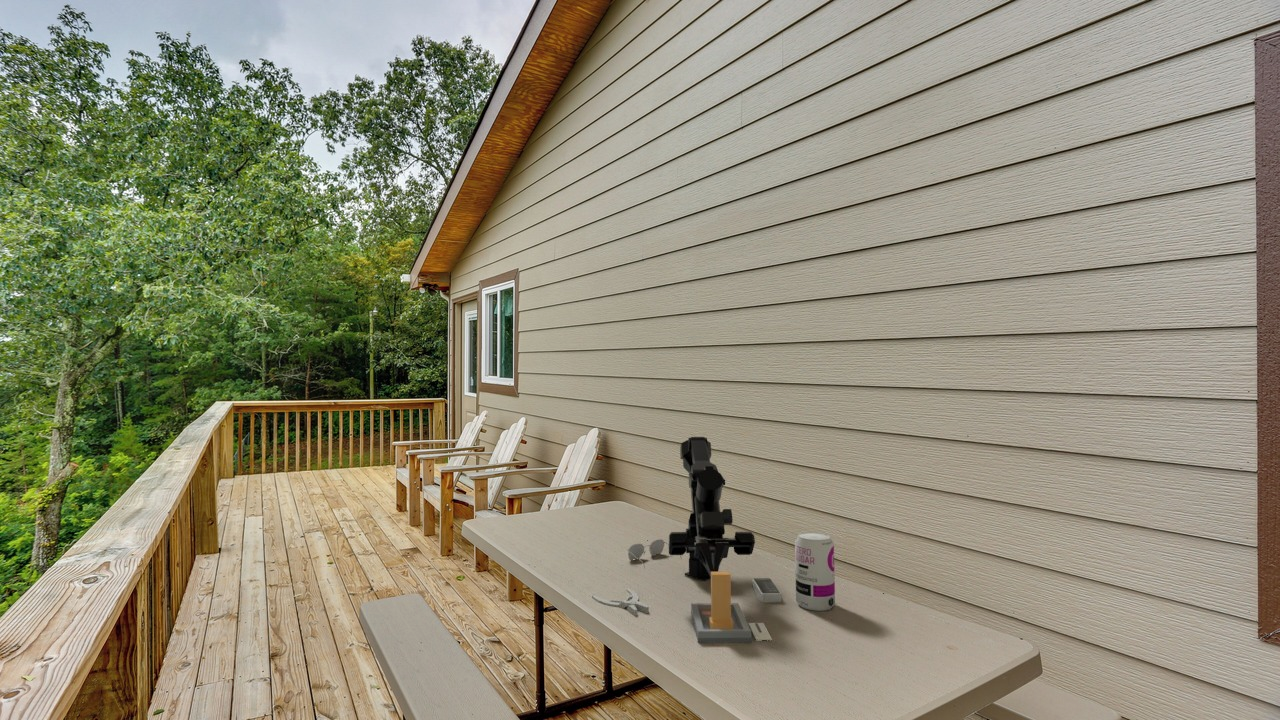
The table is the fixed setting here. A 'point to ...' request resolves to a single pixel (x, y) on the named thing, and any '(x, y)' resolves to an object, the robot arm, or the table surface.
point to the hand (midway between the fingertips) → (714, 579)
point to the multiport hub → (766, 590)
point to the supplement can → (815, 571)
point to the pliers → (626, 603)
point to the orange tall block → (721, 601)
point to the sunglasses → (638, 550)
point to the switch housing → (737, 634)
